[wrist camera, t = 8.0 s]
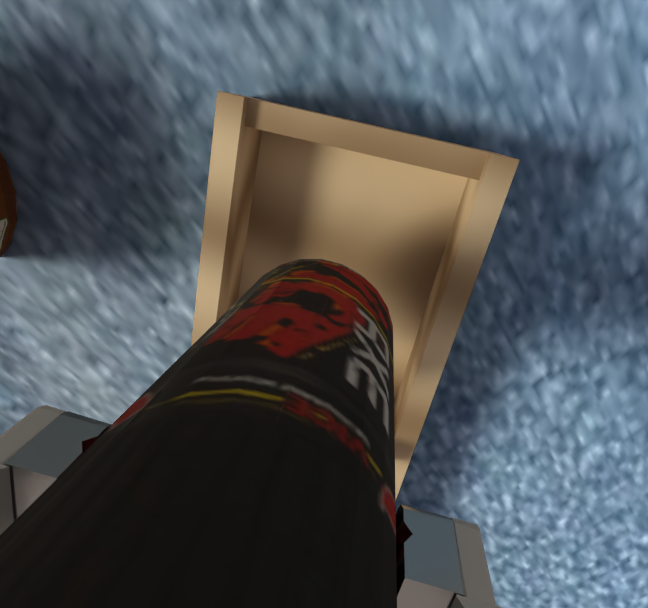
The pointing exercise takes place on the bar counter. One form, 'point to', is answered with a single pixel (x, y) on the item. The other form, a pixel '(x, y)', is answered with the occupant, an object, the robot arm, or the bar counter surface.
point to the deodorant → (235, 468)
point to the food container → (6, 206)
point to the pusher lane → (352, 226)
